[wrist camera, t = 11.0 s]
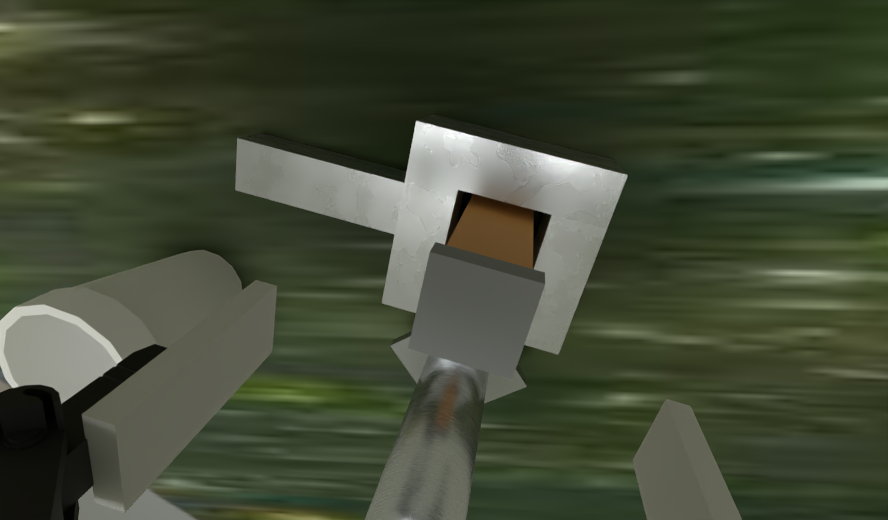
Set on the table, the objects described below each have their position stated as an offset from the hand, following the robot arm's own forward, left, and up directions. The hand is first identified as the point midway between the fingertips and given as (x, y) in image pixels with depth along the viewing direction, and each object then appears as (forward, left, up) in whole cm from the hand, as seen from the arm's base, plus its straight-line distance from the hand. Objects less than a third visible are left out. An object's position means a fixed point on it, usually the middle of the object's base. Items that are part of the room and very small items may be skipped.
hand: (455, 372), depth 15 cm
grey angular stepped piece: (+5, -6, -19) cm, 20 cm away
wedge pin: (0, 0, -19) cm, 19 cm away
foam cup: (+12, -22, -19) cm, 31 cm away
